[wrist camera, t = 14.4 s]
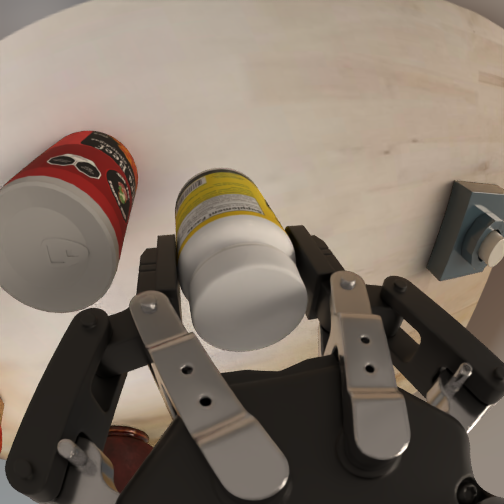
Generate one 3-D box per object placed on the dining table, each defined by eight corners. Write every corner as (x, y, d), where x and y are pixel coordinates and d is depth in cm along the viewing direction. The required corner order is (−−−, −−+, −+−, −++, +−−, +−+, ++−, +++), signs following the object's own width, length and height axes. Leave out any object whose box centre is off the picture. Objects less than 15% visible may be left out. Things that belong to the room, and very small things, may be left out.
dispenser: (454, 180, 29) (484, 200, 25) (497, 184, 31) (523, 202, 27) (425, 267, 36) (448, 291, 32) (470, 259, 38) (491, 280, 34)
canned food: (151, 203, 24) (141, 296, 15) (67, 232, 23) (25, 326, 14) (122, 112, 19) (78, 152, 11) (32, 150, 19) (-44, 215, 10)
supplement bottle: (258, 240, 19) (307, 349, 12) (178, 247, 18) (187, 366, 11) (262, 163, 16) (330, 249, 9) (172, 167, 15) (171, 263, 9)
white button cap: (484, 230, 28) (496, 239, 27) (500, 229, 29) (511, 237, 28) (473, 259, 31) (483, 269, 29) (489, 256, 31) (499, 265, 30)
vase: (138, 419, 41) (156, 577, 20) (163, 444, 48) (184, 573, 27) (80, 425, 40) (84, 569, 19) (111, 448, 47) (122, 571, 25)
